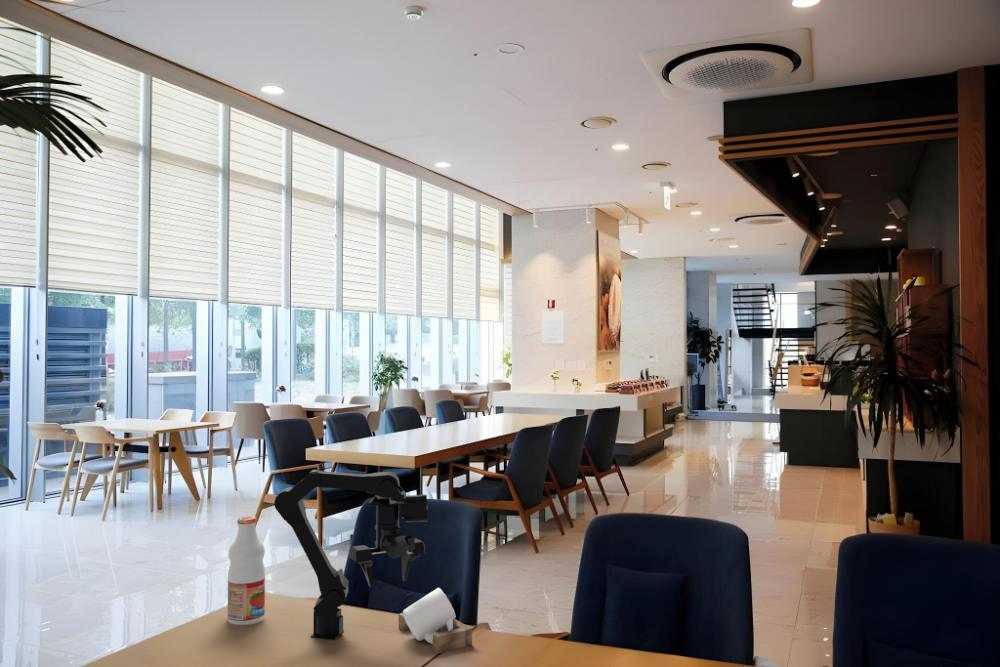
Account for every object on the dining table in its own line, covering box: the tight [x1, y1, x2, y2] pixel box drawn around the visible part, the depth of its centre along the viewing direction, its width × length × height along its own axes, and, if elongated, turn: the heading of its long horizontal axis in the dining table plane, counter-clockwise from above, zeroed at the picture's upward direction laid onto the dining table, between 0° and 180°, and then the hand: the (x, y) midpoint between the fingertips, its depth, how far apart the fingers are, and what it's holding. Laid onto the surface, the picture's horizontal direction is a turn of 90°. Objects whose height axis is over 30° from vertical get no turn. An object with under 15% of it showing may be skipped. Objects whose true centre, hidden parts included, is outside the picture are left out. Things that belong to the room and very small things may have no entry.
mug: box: [402, 587, 456, 645], centre depth 195 cm, size 9×12×11 cm
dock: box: [398, 612, 473, 654], centre depth 197 cm, size 10×20×4 cm, turn 34°
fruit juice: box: [226, 516, 266, 626], centre depth 206 cm, size 9×9×28 cm
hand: (387, 583), depth 198 cm, fingers open, 9 cm apart
